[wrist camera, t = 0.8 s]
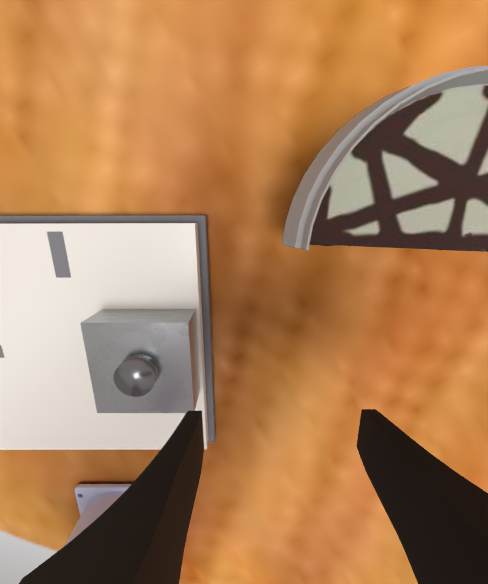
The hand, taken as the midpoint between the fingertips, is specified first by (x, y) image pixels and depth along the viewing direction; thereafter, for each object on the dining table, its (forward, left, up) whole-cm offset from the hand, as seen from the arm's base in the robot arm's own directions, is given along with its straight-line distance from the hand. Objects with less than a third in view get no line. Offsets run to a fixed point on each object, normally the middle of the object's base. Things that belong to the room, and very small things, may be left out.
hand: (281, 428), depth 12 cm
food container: (+11, -6, -10) cm, 16 cm away
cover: (0, +8, -7) cm, 11 cm away
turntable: (0, +15, -8) cm, 17 cm away
